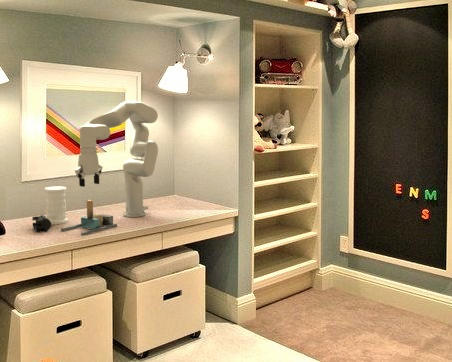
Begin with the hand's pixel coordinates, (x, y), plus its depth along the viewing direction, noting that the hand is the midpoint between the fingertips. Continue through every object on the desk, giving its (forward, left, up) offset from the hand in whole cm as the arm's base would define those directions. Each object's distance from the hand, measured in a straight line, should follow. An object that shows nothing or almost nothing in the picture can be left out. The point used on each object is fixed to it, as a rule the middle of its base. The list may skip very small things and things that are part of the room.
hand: (89, 185), depth 279 cm
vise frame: (+1, 0, -22) cm, 22 cm away
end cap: (+16, -17, -22) cm, 32 cm away
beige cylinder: (-5, 0, -22) cm, 22 cm away
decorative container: (0, -25, -22) cm, 33 cm away
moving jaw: (0, 0, -22) cm, 22 cm away
